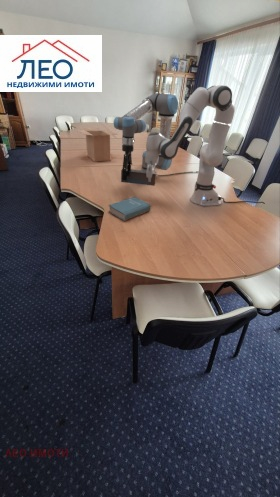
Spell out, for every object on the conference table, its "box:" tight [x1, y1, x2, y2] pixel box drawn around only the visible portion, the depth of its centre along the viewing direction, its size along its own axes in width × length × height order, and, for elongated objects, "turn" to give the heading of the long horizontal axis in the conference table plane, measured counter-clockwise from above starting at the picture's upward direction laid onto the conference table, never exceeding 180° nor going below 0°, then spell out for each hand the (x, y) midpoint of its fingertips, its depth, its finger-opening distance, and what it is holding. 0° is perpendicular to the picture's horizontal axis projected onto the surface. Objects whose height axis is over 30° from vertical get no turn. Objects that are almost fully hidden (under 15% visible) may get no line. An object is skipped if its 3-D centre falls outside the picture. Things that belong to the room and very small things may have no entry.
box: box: [77, 128, 118, 163], centre depth 240 cm, size 44×36×27 cm
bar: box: [120, 168, 157, 187], centre depth 156 cm, size 24×5×8 cm, turn 81°
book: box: [108, 196, 152, 222], centre depth 146 cm, size 23×16×5 cm
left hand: (126, 176), depth 157 cm, fingers open, 13 cm apart
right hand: (150, 180), depth 156 cm, fingers closed on bar, 5 cm apart
